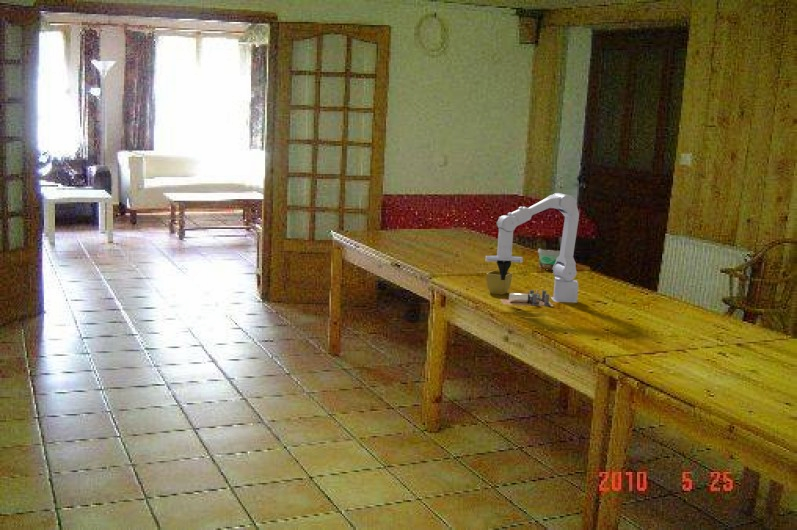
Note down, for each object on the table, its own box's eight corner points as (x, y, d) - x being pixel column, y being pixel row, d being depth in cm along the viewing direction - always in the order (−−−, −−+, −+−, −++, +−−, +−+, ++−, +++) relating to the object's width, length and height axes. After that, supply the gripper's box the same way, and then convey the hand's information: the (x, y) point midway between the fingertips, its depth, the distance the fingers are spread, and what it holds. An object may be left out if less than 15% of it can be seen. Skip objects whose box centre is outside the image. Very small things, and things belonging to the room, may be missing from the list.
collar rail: (545, 300, 335) (546, 289, 334) (550, 306, 325) (551, 295, 324) (527, 299, 335) (528, 289, 334) (531, 305, 325) (532, 294, 324)
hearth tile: (548, 301, 335) (548, 300, 335) (553, 307, 325) (553, 306, 325) (499, 299, 335) (499, 298, 335) (503, 305, 325) (503, 304, 325)
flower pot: (484, 294, 344) (485, 273, 342) (492, 290, 351) (493, 269, 350) (504, 297, 340) (505, 275, 338) (511, 293, 347) (513, 272, 346)
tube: (537, 300, 332) (539, 292, 330) (539, 304, 328) (540, 297, 327) (508, 299, 331) (509, 291, 330) (509, 303, 328) (510, 296, 326)
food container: (534, 269, 402) (536, 249, 400) (536, 267, 408) (538, 247, 406) (560, 272, 399) (562, 251, 397) (561, 270, 405) (563, 249, 403)
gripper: (488, 246, 321) (485, 281, 324) (524, 248, 322) (522, 282, 324) (485, 243, 328) (483, 277, 331) (521, 245, 329) (519, 278, 331)
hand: (502, 279), depth 328 cm, fingers closed
